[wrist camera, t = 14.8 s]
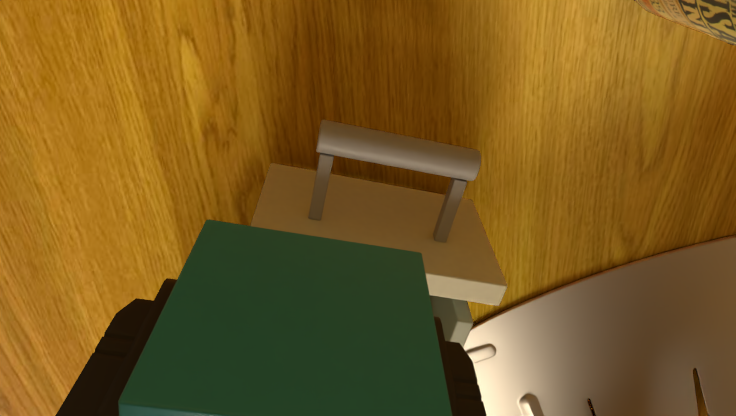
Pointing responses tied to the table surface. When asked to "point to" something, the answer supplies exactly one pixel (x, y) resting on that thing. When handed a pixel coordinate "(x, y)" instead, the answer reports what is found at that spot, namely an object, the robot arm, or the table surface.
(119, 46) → the table surface
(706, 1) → the sauce bottle
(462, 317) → the drawer with bar handle
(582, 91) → the table surface
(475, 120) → the table surface
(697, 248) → the laptop stand
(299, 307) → the block
